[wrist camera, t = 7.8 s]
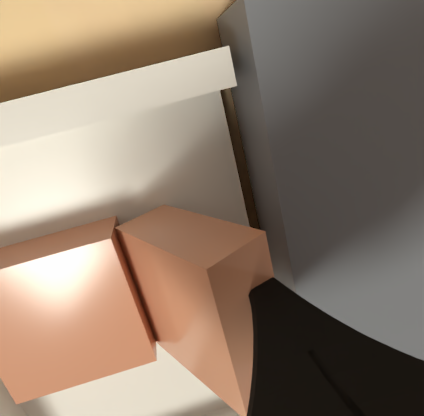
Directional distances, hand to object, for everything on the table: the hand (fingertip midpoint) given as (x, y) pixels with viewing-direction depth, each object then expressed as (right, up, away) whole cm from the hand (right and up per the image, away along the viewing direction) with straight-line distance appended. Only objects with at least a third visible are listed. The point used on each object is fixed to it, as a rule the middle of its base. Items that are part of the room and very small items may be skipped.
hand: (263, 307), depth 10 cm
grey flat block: (+6, +3, +5) cm, 9 cm away
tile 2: (-6, -1, +1) cm, 7 cm away
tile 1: (-1, 0, +2) cm, 2 cm away
